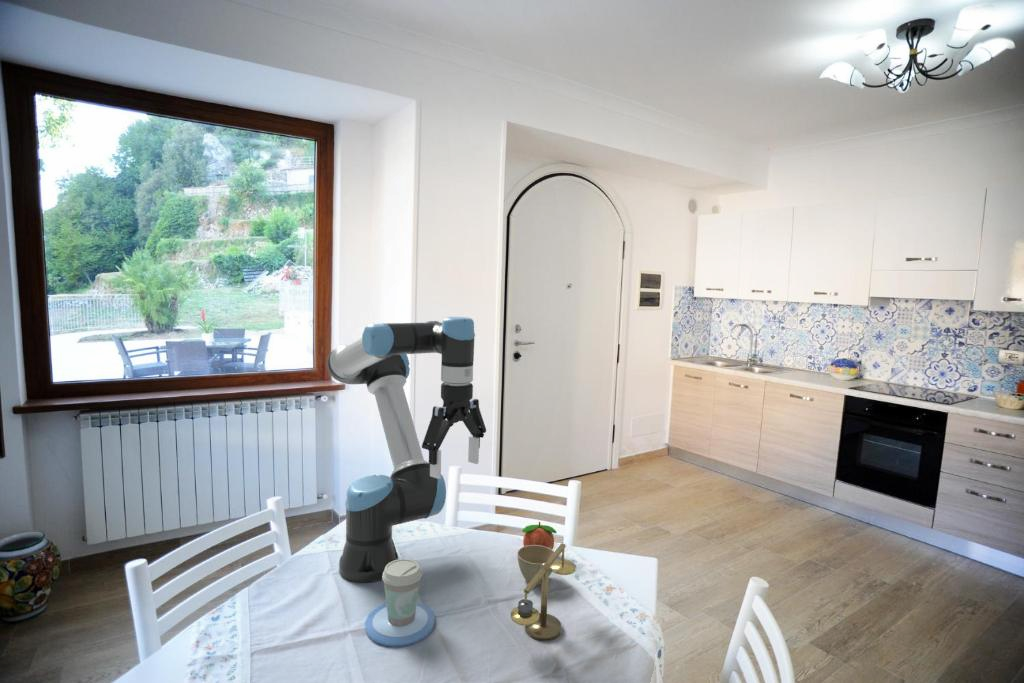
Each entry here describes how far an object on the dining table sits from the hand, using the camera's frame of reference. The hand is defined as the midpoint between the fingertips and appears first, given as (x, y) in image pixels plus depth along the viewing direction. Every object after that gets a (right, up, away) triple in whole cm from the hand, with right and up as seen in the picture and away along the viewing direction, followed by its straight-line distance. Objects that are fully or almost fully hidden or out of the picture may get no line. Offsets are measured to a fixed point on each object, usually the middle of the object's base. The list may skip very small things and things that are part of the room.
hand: (455, 469), depth 134 cm
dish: (-11, -32, -11) cm, 35 cm away
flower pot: (+20, -31, +9) cm, 38 cm away
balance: (+21, -33, -10) cm, 40 cm away
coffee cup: (-11, -31, -10) cm, 34 cm away
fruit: (+21, -29, +22) cm, 42 cm away
